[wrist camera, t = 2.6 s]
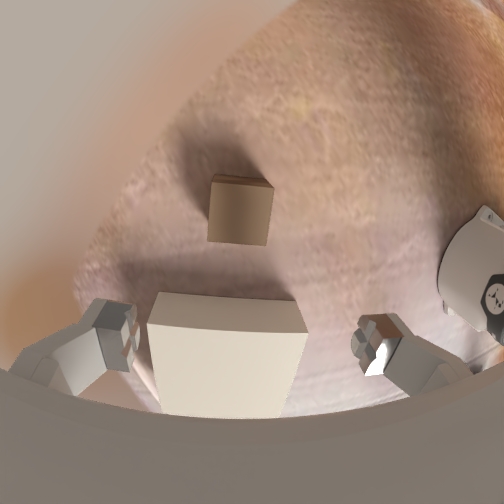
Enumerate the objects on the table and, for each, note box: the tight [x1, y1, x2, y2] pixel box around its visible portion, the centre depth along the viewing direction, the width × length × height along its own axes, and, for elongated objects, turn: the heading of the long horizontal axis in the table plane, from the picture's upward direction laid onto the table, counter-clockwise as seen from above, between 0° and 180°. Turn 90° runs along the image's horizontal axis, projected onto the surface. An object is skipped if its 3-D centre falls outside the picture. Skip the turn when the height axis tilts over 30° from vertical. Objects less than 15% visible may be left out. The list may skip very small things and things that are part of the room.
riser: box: [147, 292, 309, 418], centre depth 31 cm, size 16×16×6 cm
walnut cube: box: [207, 174, 274, 246], centre depth 25 cm, size 5×5×5 cm
